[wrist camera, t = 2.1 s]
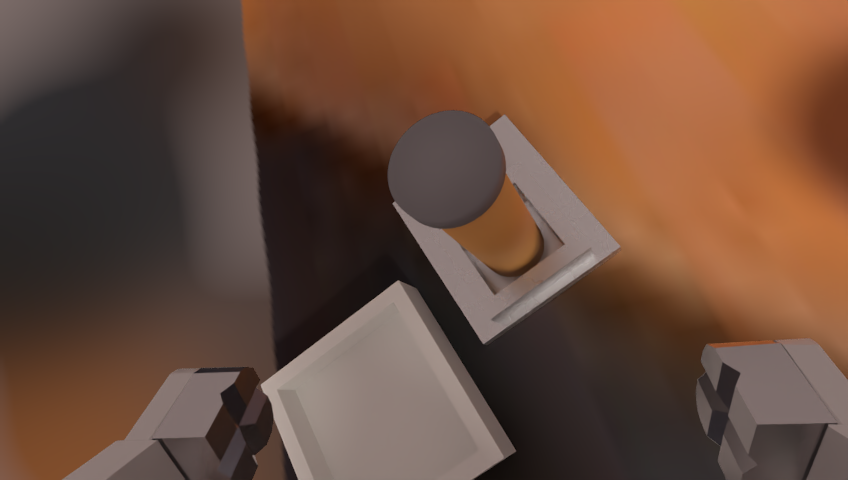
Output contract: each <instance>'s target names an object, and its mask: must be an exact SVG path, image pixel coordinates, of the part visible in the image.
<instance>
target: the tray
mask: <svg viewBox="0 0 848 480" xmlns="http://www.w3.org/2000/svg"><path fill="white" fill-rule="evenodd" d="M261 387H262V390H263V392H264V394H266V395H267V396H268V398H269V400H270V402H271V404H272V409H273V415H274V416H273V417H274V420H275V422H276V425H277V427H278V430H279V432H280V435H281V437H282V440H283V443H284V445H285V448H286V450H287V453H288V455H289V458H290V460H291V463H292V465H293V468H294V470H295V473H296V475H297V478H298V480H474V479H475V478H477V477H478V476H480V475H481V474H483V473H484V472H486V471H487V470H489V469H490V468H492V467H493V466H495V465H496V464H498V463H499V462H501V461H502V460H504V459H505V458H507V457H508V456H510V455H512V454H513V453H515V452H516V450H515V448H514V447H513V445H512V443H511V442H510V440H509V438H508V437H507V435H506V433H505V432H504V430H503V429H502V427H501V425H500V424H499V422H498V420H497V419H496V417H495V416H494V414H493V412H492V411H491V409H490V407H489V406H488V404H487V402H486V401H485V399H484V398H483V396H482V394H481V393H480V391H479V389H478V388H477V386H476V384H475V383H474V381H473V380H472V378H471V376H470V375H469V373H468V371H467V370H466V368H465V367H464V365H463V363H462V362H461V360H460V358H459V357H458V355H457V353H456V352H455V350H454V349H453V347H452V345H451V344H450V342H449V340H448V339H447V337H446V336H445V334H444V332H443V331H442V329H441V327H440V326H439V324H438V322H437V321H436V319H435V318H434V316H433V314H432V313H431V311H430V309H429V308H428V306H427V304H426V303H425V301H424V300H423V298H422V296H421V295H420V293H419V291H418V290H417V288H415V287H412V286H410V285H408V284H406V283H403V282H401V281H399V280H398V281H397V282H395V283H394V284H393V285H391V286H390V287H389V288H387V289H386V290H385V291H383V292H382V293H381V294H380V295H378V296H377V297H376V298H374V299H373V300H372V301H370V302H369V303H368V304H366V305H365V306H364V307H362V308H361V309H360V310H358V311H357V312H356V313H355V314H353V315H352V316H351V317H349V318H348V319H347V320H345V321H344V322H343V323H341V324H340V325H339V326H337V327H336V328H335V329H333V330H332V331H331V332H330V333H328V334H327V335H326V336H324V337H323V338H322V339H320V340H319V341H318V342H316V343H315V344H314V345H312V346H311V347H310V348H308V349H307V350H306V351H304V352H303V353H302V354H301V355H299V356H298V357H297V358H295V359H294V360H293V361H291V362H290V363H289V364H287V365H286V366H285V367H283V368H282V369H281V370H279V371H278V372H277V373H276V374H274V375H273V376H272V377H270V378H269V379H268V380H266V381H265V382H264V383H263V384H261Z"/></svg>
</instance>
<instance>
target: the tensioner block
mask: <svg viewBox="0 0 848 480" xmlns="http://www.w3.org/2000/svg"><path fill="white" fill-rule="evenodd" d="M489 127H490V128H491V129H492V131H493V132H494V134H495V136H496V138H497V139H498V141H499V143H500V145H501V147H502V149H503V152H504V155H505V160H506V174H507V176H508V177H509V179H510V181H511V182H512V184H513V186H514V187H515V189H516V191H517V192H518V194H519V196H520V197H521V199H522V201H523V202H524V204H525V206H526V207H527V209H528V211H529V212H530V214H531V216H532V217H533V219H534V221H535V222H536V224H537V226H538V227H539V229H540V231H541V233H542V235H543V239H544V251H543V255H542V257H541V259H540V261H539V263H538V264H537V265H536V266H534V267H533V268H532V269H530V270H529V271H528V272H526V273H525V274H523V275H521V276H517V277H506V276H502V275H499V274H497V273H495V272H494V271H492V270H491V269H490V268H488V267H487V266H486V265H485V264H484V263H482V262H481V261H480V260H479V259H477V258H476V257H475V256H474V255H473V254H471V253H470V252H469V251H468V250H466V249H465V248H464V247H463V246H462V245H460V244H459V243H458V242H457V241H455V240H454V239H453V238H452V237H451V236H449V235H448V234H447V233H446V232H444V231H443V230H442V229H437V228H432V227H429V226H426V225H423V224H421V223H419V222H418V221H416V220H415V219H414V218H412V217H411V216H410V215H408V214H407V213H406V212H404V211H403V210H402V209H401V208H400V207H399V206H398V204H397V203H396V202H393V203H392V204H393V205H394V207H395V208H396V210H397V211H398V213H399V214H400V216H401V218H402V219H403V221H404V222H405V224H406V225H407V227H408V228H409V230H410V231H411V233H412V235H413V236H414V238H415V239H416V241H417V242H418V244H419V245H420V247H421V249H422V250H423V252H424V253H425V255H426V256H427V258H428V259H429V261H430V262H431V264H432V266H433V267H434V269H435V270H436V272H437V273H438V275H439V276H440V278H441V279H442V281H443V283H444V284H445V286H446V287H447V289H448V290H449V292H450V293H451V295H452V296H453V298H454V300H455V301H456V303H457V304H458V306H459V307H460V309H461V310H462V312H463V314H464V315H465V317H466V318H467V320H468V321H469V323H470V324H471V326H472V327H473V329H474V331H475V332H476V334H477V335H478V337H479V338H480V340H481V341H482V343H483V344H484V345H489V344H490V343H492V342H493V341H495V340H496V339H497V338H499V337H500V336H502V335H503V334H504V333H506V332H507V331H509V330H510V329H511V328H513V327H514V326H516V325H517V324H519V323H520V322H521V321H523V320H524V319H526V318H527V317H528V316H530V315H531V314H533V313H534V312H535V311H537V310H538V309H540V308H541V307H543V306H544V305H545V304H547V303H548V302H550V301H551V300H552V299H554V298H555V297H557V296H558V295H559V294H561V293H562V292H564V291H565V290H567V289H568V288H569V287H571V286H572V285H574V284H575V283H576V282H578V281H579V280H581V279H582V278H583V277H585V276H586V275H588V274H589V273H591V272H592V271H593V270H595V269H596V268H598V267H599V266H600V265H602V264H603V263H605V262H606V261H607V260H609V259H610V258H612V257H613V256H615V255H616V254H617V253H619V252H620V251H621V247H620V245H619V244H618V243H617V242H616V241H615V240H614V239H613V237H612V236H611V235H610V234H609V233H608V232H607V231H606V229H605V228H604V227H603V226H602V225H601V224H600V223H599V221H598V220H597V219H596V218H595V217H594V216H593V215H592V213H591V212H590V211H589V210H588V209H587V208H586V207H585V205H584V204H583V203H582V202H581V201H580V200H579V199H578V197H577V196H576V195H575V194H574V193H573V192H572V191H571V189H570V188H569V187H568V186H567V185H566V184H565V183H564V182H563V180H562V179H561V178H560V177H559V176H558V175H557V174H556V172H555V171H554V170H553V169H552V168H551V167H550V166H549V164H548V163H547V162H546V161H545V160H544V159H543V158H542V156H541V155H540V154H539V153H538V152H537V151H536V150H535V148H534V147H533V146H532V145H531V144H530V143H529V142H528V140H527V139H526V138H525V137H524V136H523V135H522V134H521V132H520V131H519V130H518V129H517V128H516V127H515V126H514V124H513V123H512V122H511V121H510V120H509V119H508V118H507V116H506V115H505V114H504V115H503V116H502V117H501V118H499V119H498V120H497V121H496V122H494V123H493V124H492V125H491V126H489Z"/></svg>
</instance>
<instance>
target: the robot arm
mask: <svg viewBox="0 0 848 480" xmlns="http://www.w3.org/2000/svg"><path fill="white" fill-rule="evenodd" d="M701 362H702V364H703V366H704V368H705V370H706V373H705V374H704V375H702V376H701V377H700V378H699V379H698V380H697V388H696V400H697V409H698V413H699V416H700V420H701V423H702V425H703V428H704V430H705V432H706V435H707V436H708V437H709V438H710V439H712V440H713V441H714V442H716V443H717V444H718V445H720V446H721V448H720V453H719V457H718V462H719V464H720V466H721V469H722V471H723V473H724V475H725V478H726V480H848V380H847V379H846V377H845V376H844V375H843V374H842V373H841V371H840V370H839V369H838V368H837V366H836V365H835V364H834V363H833V361H832V360H831V359H830V358H829V357H828V355H827V354H826V353H825V352H824V350H823V349H822V348H821V347H820V346H819V344H818V343H817V342H815V341H813V340H812V339H810V338H806V339H788V340H774V341H753V342H735V343H718V344H707V345H706V346H705V348H704V349H703V353H702V358H701ZM259 381H260V379H259V377H258V375H257V374H256V372H255V371H254V368H249V367H227V368H226V367H223V368H197V369H178V370H176V371H174V372H173V373H171V374H170V375H169V376H168V378H167V379H166V381H165V382H164V384H163V385H162V386H161V388H160V390H159V391H158V392H157V394H156V395H155V397H154V398H153V399H152V401H151V402H150V404H149V405H148V407H147V408H146V410H145V411H144V413H143V414H142V415H141V417H140V418H139V420H138V421H137V422H136V424H135V425H134V427H133V428H132V430H131V431H130V433H129V434H128V435H127V437H126V439H125V440H123V441H116V442H114V443H113V444H111V445H110V446H109V447H107V448H106V449H104V450H103V451H102V452H100V453H99V454H97V455H96V456H95V457H94V458H92V459H91V460H90V461H88V462H86V463H85V464H84V465H82V466H81V467H79V468H78V469H77V470H75V471H74V472H72V473H71V474H70V475H68V476H67V477H65V478H64V479H63V480H252V479H253V476H254V474H255V471H256V469H257V467H258V465H257V462H256V458H255V454H257V453H258V452H259V451H260V450H261V449H262V448H263V447H264V446H265V445H267V442H268V440H269V437H270V434H271V431H272V424H273V416H274V415H273V409H272V404H271V402H270V400H269V398H268V396H267V395H266V394H264V393H263V392H262V391H260V390H259V389H257V386H258V383H259Z"/></svg>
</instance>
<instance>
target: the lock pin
mask: <svg viewBox="0 0 848 480" xmlns="http://www.w3.org/2000/svg"><path fill="white" fill-rule="evenodd" d="M388 184H389V189H390V192H391V194H392V197H393V198H394V200H395V202H396V203H397V204H398V206H399V207H400V208H401V209H402V210H403V211H404V212H406V213H407V214H408V215H410V216H411V217H412V218H414V219H415V220H416V221H418V222H419V223H421V224H423V225H426V226H429V227H432V228H437V229H442V230H443V231H444V232H446V233H447V234H448V235H449V236H451V237H452V238H453V239H454V240H455V241H457V242H458V243H459V244H460V245H462V246H463V247H464V248H465V249H466V250H468V251H469V252H470V253H471V254H473V255H474V256H475V257H476V258H477V259H479V260H480V261H481V262H482V263H484V264H485V265H486V266H487V267H488V268H490V269H491V270H492V271H494V272H495V273H497V274H499V275H502V276H506V277H517V276H521V275H523V274H525V273H526V272H528V271H529V270H530V269H532V268H533V267H534V266H536V265H537V264H538V263H539V261H540V259H541V257H542V255H543V251H544V239H543V235H542V233H541V231H540V229H539V227H538V226H537V224H536V222H535V221H534V219H533V217H532V216H531V214H530V212H529V211H528V209H527V207H526V206H525V204H524V202H523V201H522V199H521V197H520V196H519V194H518V192H517V191H516V189H515V187H514V186H513V184H512V182H511V181H510V179H509V177H508V176H507V174H506V160H505V155H504V152H503V149H502V147H501V145H500V143H499V141H498V139H497V138H496V136H495V134H494V132H493V131H492V129H491V128H490V127H489V126H488V125H487V123H486V122H484V121H483V120H482V119H480V118H479V117H477V116H475V115H473V114H471V113H468V112H463V111H455V110H451V111H442V112H438V113H434V114H431V115H429V116H427V117H425V118H423V119H421V120H419V121H418V122H417V123H415V124H414V125H412V126H411V127H410V128H409V129H408V130H407V131H406V132H405V133H404V134H403V135H402V137H401V138H400V140H399V141H398V142H397V144H396V146H395V148H394V150H393V152H392V154H391V158H390V161H389V166H388Z"/></svg>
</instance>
